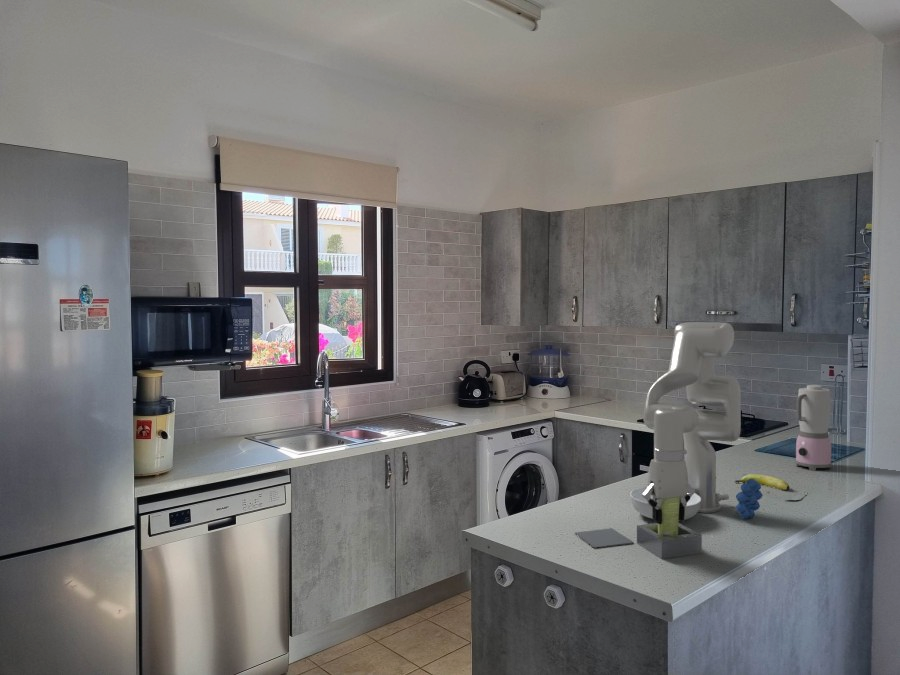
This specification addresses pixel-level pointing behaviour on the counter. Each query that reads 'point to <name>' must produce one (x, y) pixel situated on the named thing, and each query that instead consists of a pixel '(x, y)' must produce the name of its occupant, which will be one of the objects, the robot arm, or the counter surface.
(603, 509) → the counter surface
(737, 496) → the grapes
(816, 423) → the blender
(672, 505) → the tube
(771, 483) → the banana
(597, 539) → the mat
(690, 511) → the serving bowl
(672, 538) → the housing
